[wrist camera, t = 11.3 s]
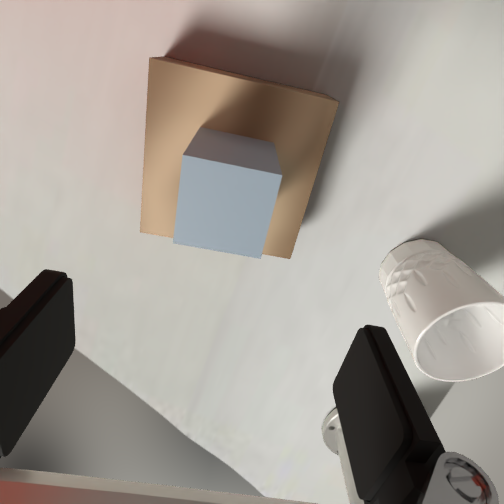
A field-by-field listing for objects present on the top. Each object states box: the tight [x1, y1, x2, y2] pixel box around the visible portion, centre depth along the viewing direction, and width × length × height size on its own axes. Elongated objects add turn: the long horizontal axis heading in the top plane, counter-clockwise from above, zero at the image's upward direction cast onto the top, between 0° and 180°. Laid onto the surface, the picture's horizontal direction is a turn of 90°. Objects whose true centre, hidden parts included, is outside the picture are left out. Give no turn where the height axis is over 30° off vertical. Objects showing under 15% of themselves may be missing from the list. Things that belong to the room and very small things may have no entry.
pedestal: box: [140, 57, 339, 259], centre depth 26 cm, size 12×12×4 cm
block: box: [173, 127, 282, 259], centre depth 21 cm, size 5×5×7 cm
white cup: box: [379, 239, 504, 382], centre depth 29 cm, size 8×8×10 cm
